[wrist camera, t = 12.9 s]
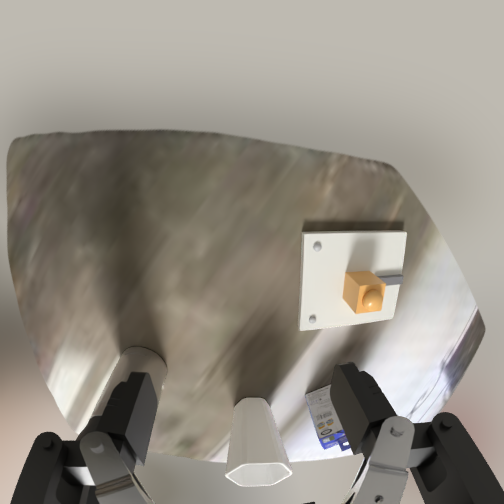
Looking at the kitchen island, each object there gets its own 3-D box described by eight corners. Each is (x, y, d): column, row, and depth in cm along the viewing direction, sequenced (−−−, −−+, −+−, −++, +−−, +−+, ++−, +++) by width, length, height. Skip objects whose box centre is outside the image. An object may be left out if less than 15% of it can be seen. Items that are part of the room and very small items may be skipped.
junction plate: (389, 314, 45) (403, 329, 40) (297, 326, 44) (305, 344, 39) (401, 230, 41) (420, 237, 36) (301, 231, 40) (312, 240, 34)
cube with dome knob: (369, 270, 41) (389, 286, 34) (366, 295, 42) (384, 313, 36) (345, 272, 40) (362, 288, 34) (342, 298, 42) (358, 317, 35)
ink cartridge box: (309, 408, 51) (326, 460, 37) (303, 394, 49) (320, 448, 35) (351, 390, 50) (376, 439, 36) (348, 375, 49) (374, 425, 35)
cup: (284, 413, 50) (298, 477, 34) (241, 427, 51) (246, 490, 35) (264, 383, 47) (275, 456, 31) (217, 399, 48) (215, 469, 32)
